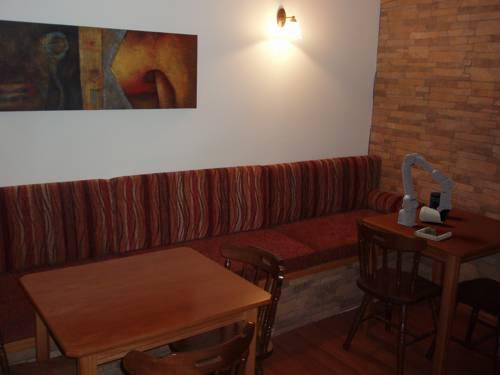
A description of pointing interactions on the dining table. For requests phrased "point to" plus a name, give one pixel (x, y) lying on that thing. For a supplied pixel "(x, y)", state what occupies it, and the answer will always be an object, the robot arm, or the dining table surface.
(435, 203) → the green-striped black cylinder
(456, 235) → the dining table surface
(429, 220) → the foam cup
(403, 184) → the robot arm
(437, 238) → the bay
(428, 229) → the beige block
